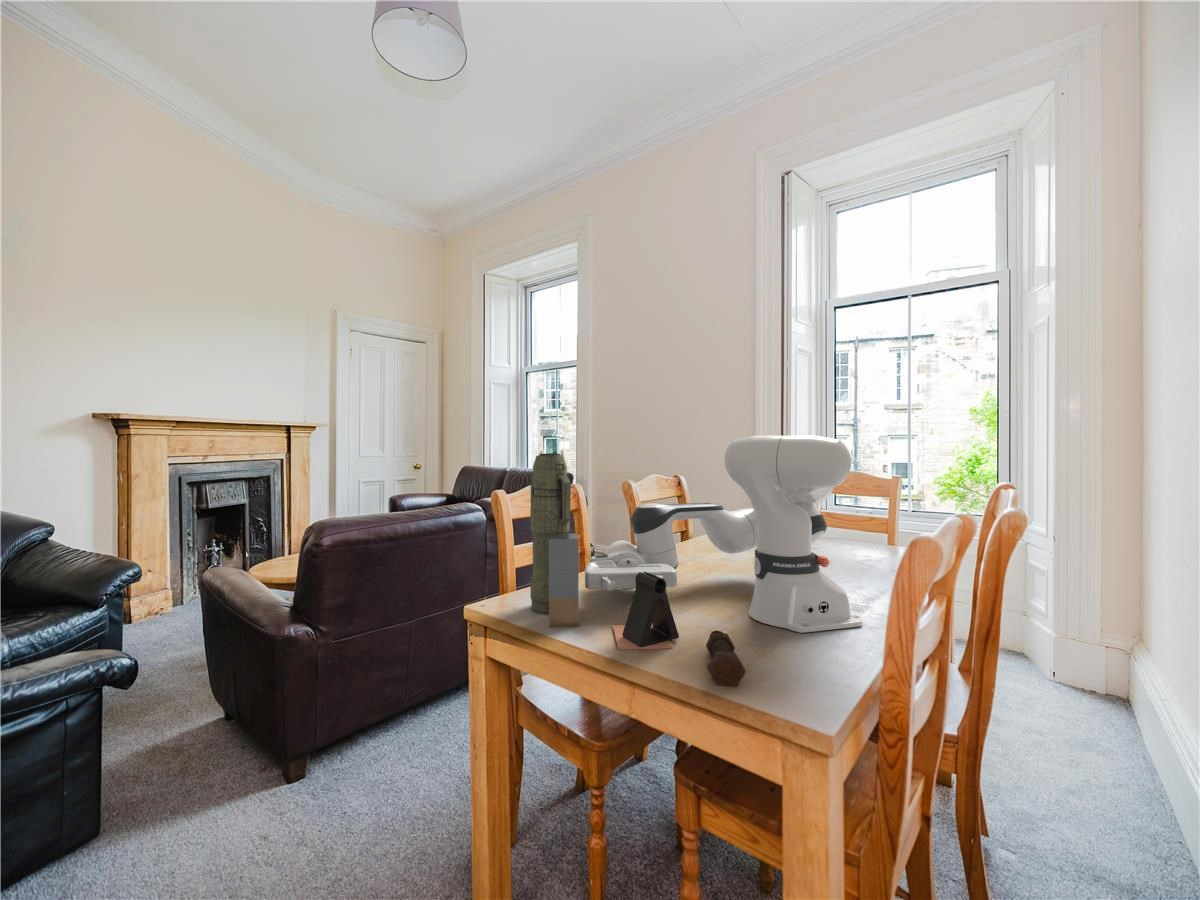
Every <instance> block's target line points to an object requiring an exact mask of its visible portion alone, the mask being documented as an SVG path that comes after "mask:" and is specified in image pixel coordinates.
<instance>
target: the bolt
mask: <svg viewBox="0 0 1200 900" xmlns="http://www.w3.org/2000/svg"><path fill="white" fill-rule="evenodd" d="M705 648H706V649H707V651H708V653H709V655H710V657H711V660H709V663H708V665H707V671H708V673H709V675H710V676H711V679H712V680H713V682H714V684H715V685H716V686H719V687H726V688H729V687H730V688H734V687H738V686H739V685H740V683H741V681H742V680H743V678H744V677H745V674H746V668H745V666H744V665H743V663H742V661H741V659H740V658H739V656H738V654H737V653H736V651H735V650H736V646H735V644H734V643H733V641H732V639H731V637H730V636H729V634H728V633H727V632H726V633H724V632H723V631H721V630H713V631H711V632H710V634H709V638H708V640H707V641H706V644H705Z"/></svg>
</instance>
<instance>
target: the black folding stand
mask: <svg viewBox="0 0 1200 900" xmlns="http://www.w3.org/2000/svg"><path fill="white" fill-rule="evenodd" d="M644 573H645V574H644ZM635 581H636V588H635V589H634V593H633V595H632V596H633V597H632V599H631V603H630V606H629V607H630V608H629V611H628V614H627V618H626V621H625V623H624V625H625V627H624V631H623V634H622V636H623V637H625V638H626V639H628V640H630V641H631V642H633V643H635V644H636V645H638V646H639V647H645V646H649V645H653V644H658V643H659V642H660V643H662V642H666V641H670V642H671V641H673V640H677V639H679V637H680V634H679V632H678V628H677V624H676V622H675V618H674V616H673V612H672V609H671V606H670V602H669V599H668V596H667V587H666V581H665V580H664V579H662V578H660V577H657V576H655V575H652V574H650V573H647V572H643V573H641V572H639V573H638V574H637V576H636V579H635ZM652 625H653V627H652V628H651V626H652Z"/></svg>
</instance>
